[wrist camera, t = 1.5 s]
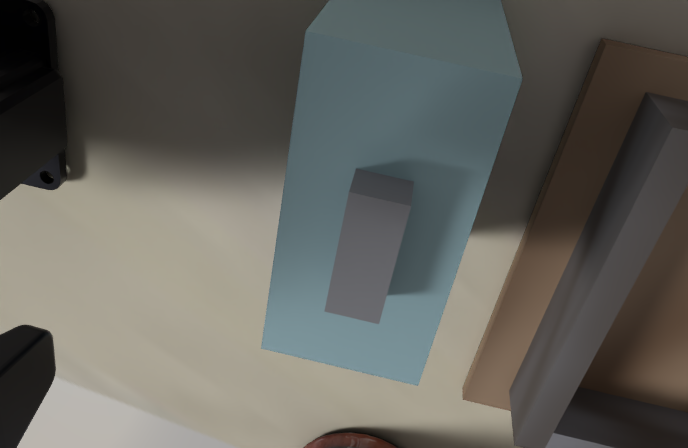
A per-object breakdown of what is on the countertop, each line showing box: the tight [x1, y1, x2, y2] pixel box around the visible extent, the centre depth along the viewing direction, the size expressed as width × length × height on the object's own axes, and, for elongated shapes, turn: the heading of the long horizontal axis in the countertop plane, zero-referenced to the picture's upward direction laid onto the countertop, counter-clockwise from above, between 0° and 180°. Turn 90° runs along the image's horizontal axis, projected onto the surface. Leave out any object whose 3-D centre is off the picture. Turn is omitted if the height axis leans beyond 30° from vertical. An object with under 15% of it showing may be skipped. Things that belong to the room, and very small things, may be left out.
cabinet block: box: [261, 0, 523, 386], centre depth 16 cm, size 4×8×8 cm, turn 170°
